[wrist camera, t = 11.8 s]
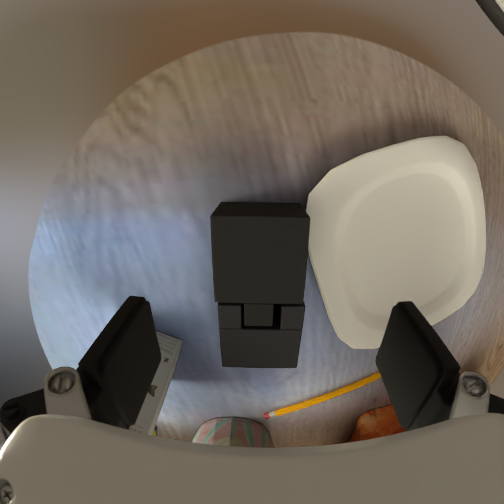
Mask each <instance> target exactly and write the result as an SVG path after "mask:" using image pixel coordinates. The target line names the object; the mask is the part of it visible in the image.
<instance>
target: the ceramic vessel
mask: <svg viewBox="0 0 504 504" xmlns="http://www.w3.org/2000/svg"><path fill="white" fill-rule="evenodd" d="M402 432H405V429H404V428H402V427H401V426H400V424H399V421H398V418H397V416H396V413H395V410H394V408H393V405H388V406H385V407H381V408H378V409H374V410H371V411H368V412H366V413H363V414H362V415H361V416H360V417H359V418H358V419H357V422H356V427H355V430H354V432H353V433H352V435H351V437H350V439H349V441H348V443H349V442H356V441H363V440H369V439H374V438H379V437H384V436H389V435H394V434H398V433H402Z"/></svg>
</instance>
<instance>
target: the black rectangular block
mask: <svg viewBox="0 0 504 504" xmlns="http://www.w3.org/2000/svg"><path fill="white" fill-rule="evenodd" d="M210 219H211V244H212V264H213V282H214V298H215V302H225V303H244V325H245V326H272V325H273V307H274V304H302V303H303V298H304V289H305V279H306V268H307V257H308V244H309V231H310V217H309V215H308V214H307V212H306V211H305V210H304V208H303V207H302V206H301V204H300V203H267V202H221V203H220V204H219V205H218V207H217V208H216V209H215V211H214V212H213V213H212V215H211V216H210Z"/></svg>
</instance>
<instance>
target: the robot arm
mask: <svg viewBox="0 0 504 504" xmlns="http://www.w3.org/2000/svg"><path fill="white" fill-rule="evenodd" d="M495 1H496V2H497V4H498V5H499V7H500V8H501V9H502V11H503V12H504V0H495ZM160 362H161V351H160V347H159V343H158V339H157V334H156V330H155V326H154V321H153V317H152V312H151V307H150V303H149V302H148V301H146V300H145V298H144V297H137V296H129V297H128V298H127V300H126V301H125V302H124V303H123V305H122V306H121V307H120V308H119V310H118V311H117V312H116V314H115V315H114V316H113V317H112V319H111V320H110V321H109V323H108V324H107V325H106V327H105V328H104V329H103V331H102V332H101V333H100V335H99V336H98V337H97V339H96V340H95V341H94V343H93V344H92V345H91V347H90V348H89V350H88V351H87V352H86V354H85V355H84V357H83V358H82V359H81V361H80V362H79V364H78V365H79V367H78V368H77V370H75V369H73V368H71V367H59V368H57V369H54V370H53V371H52V372H50V373H49V374H48V375H47V376H46V378H45V380H44V389H41V390H38V391H35V392H32V393H29V394H25V395H22V396H19V397H16V398H12V399H10V400H8V401H7V402H5V403H4V404H3V406H2V407H1V410H0V504H504V399H503V398H500V397H497V396H495V395H492V394H490V385H489V383H488V381H487V379H486V378H485V377H484V376H483V375H482V374H480V373H478V372H475V371H466V372H464V373H462V374H461V375H460V374H459V370H460V368H461V367H460V366H459V364H458V363H457V361H456V360H455V358H454V357H453V355H452V354H451V353H450V351H449V350H448V348H447V347H446V345H445V344H444V343H443V341H442V340H441V338H440V337H439V336H438V334H437V333H436V332H435V330H434V329H433V328H432V326H431V325H430V324H429V322H428V321H427V320H426V318H425V317H424V316H423V315H422V313H421V312H420V311H419V309H418V308H417V307H416V306H415V304H414V303H413V302H412V301H401V302H398V303H397V304H396V305H395V306H393V308H392V311H391V314H390V317H389V321H388V324H387V327H386V330H385V333H384V336H383V339H382V342H381V345H380V348H379V351H378V353H377V356H376V365H377V368H378V370H379V372H380V375H381V377H382V380H383V382H384V385H385V387H386V390H387V392H388V395H389V397H390V400H391V402H392V405H393V408H394V410H395V413H396V416H397V418H398V421H399V424H400V426H401V427H402V428H404V429H405V432H402V433H398V434H394V435H389V436H384V437H379V438H374V439H369V440H363V441H356V442H349V443H342V444H333V445H323V446H310V447H290V448H254V447H234V446H221V445H210V444H202V443H194V442H187V441H180V440H174V439H169V438H163V437H158V436H154V435H149V434H144V433H139V432H135V431H131V430H129V428H130V426H131V425H132V426H133V425H134V424H135V423H136V420H137V418H138V415H139V413H140V410H141V408H142V405H143V403H144V400H145V398H146V395H147V393H148V391H149V388H150V386H151V383H152V381H153V379H154V376H155V374H156V371H157V369H158V367H159V364H160Z"/></svg>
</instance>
